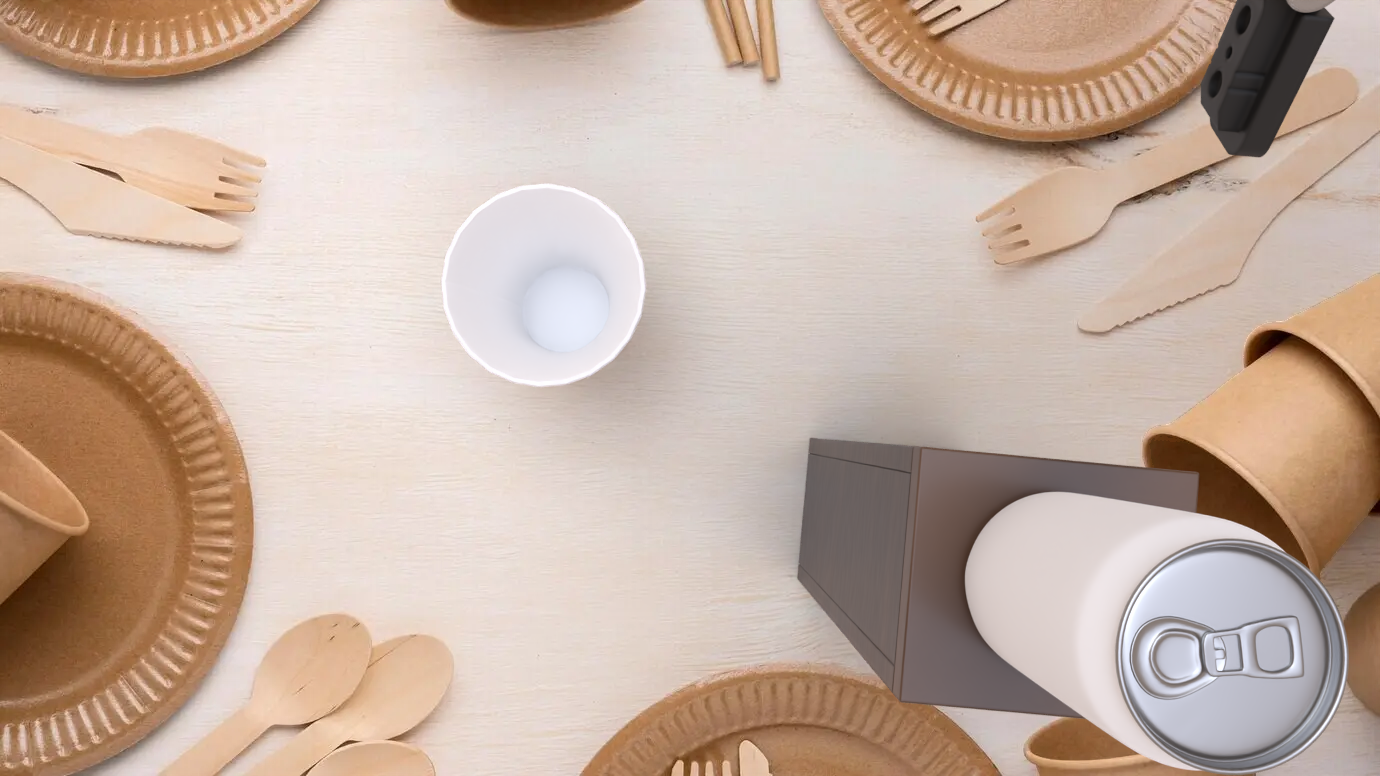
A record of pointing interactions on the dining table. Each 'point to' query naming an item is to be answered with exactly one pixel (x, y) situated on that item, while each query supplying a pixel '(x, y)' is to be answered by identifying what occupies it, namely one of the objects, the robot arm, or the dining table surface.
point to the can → (1162, 628)
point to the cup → (543, 285)
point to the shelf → (939, 538)
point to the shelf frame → (857, 541)
